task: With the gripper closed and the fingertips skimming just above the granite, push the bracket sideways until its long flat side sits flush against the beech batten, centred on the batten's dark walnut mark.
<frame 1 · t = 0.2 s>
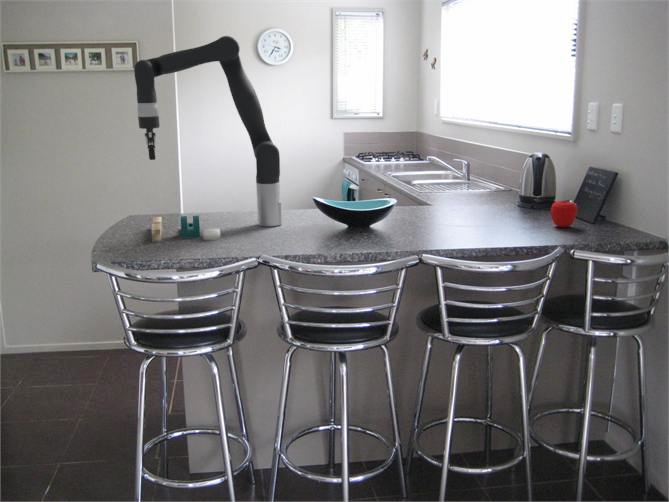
hand: (152, 158, 254), 29 cm above the countertop, fingers open, 8 cm apart
rounded smooth part: (211, 238, 249), on the countertop
bracket: (191, 233, 259), on the countertop
apple: (562, 227, 259), on the countertop
batten: (157, 234, 256), on the countertop
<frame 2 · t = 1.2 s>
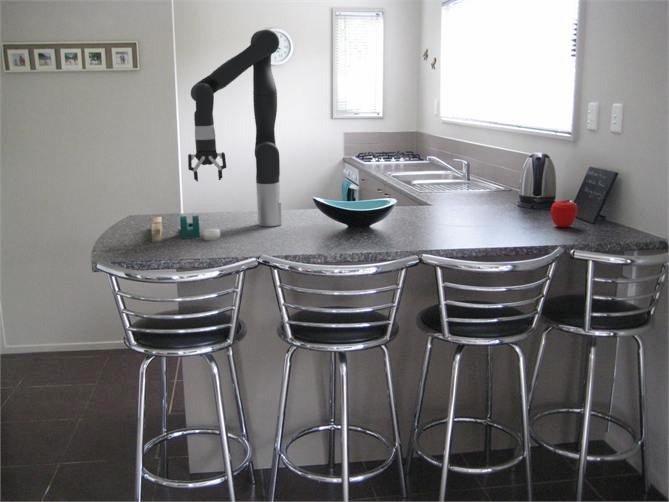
hand: (208, 180, 255), 20 cm above the countertop, fingers open, 8 cm apart
nothing on the countertop moved.
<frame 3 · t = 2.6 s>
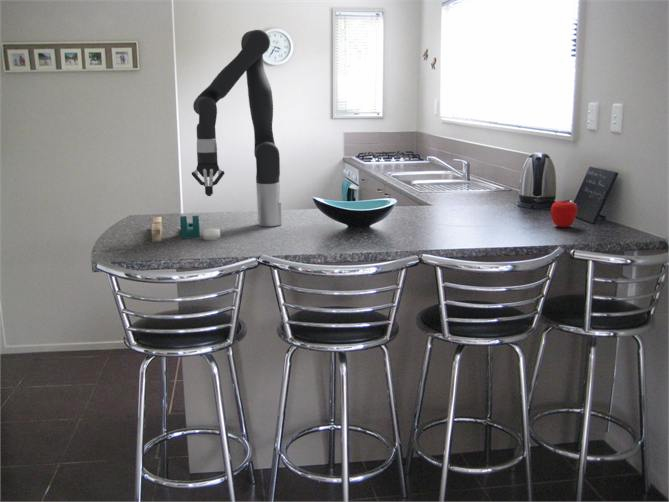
hand: (209, 195, 257), 14 cm above the countertop, fingers closed
nothing on the countertop moved.
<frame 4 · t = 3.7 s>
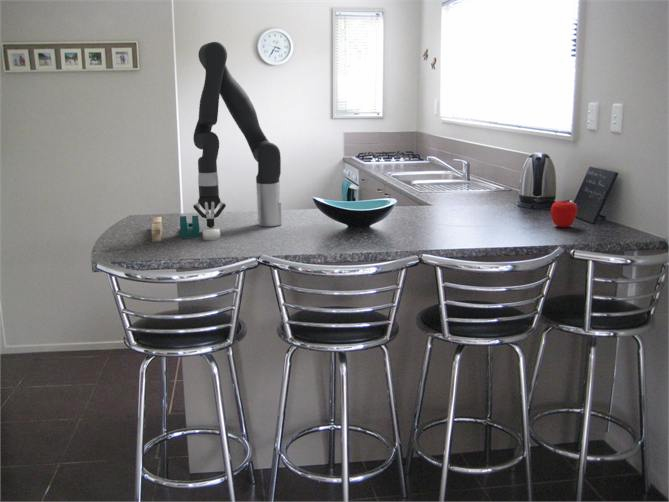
hand: (210, 227, 260), 1 cm above the countertop, fingers closed
nothing on the countertop moved.
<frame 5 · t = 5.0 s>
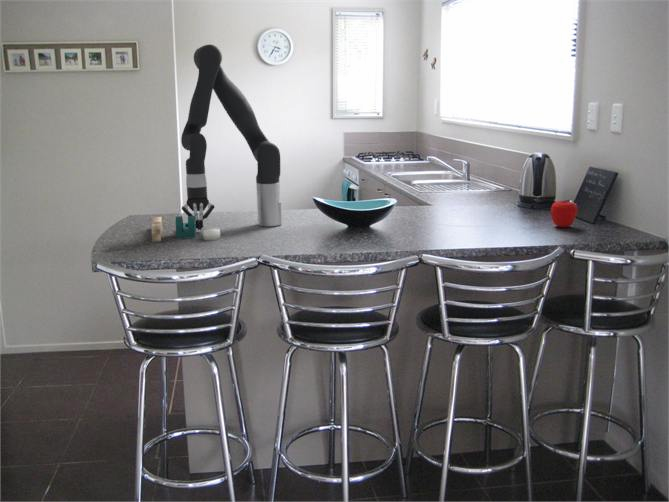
hand: (199, 229, 259), 1 cm above the countertop, fingers closed
bracket: (187, 233, 258), on the countertop, touching gripper
everything else where it was.
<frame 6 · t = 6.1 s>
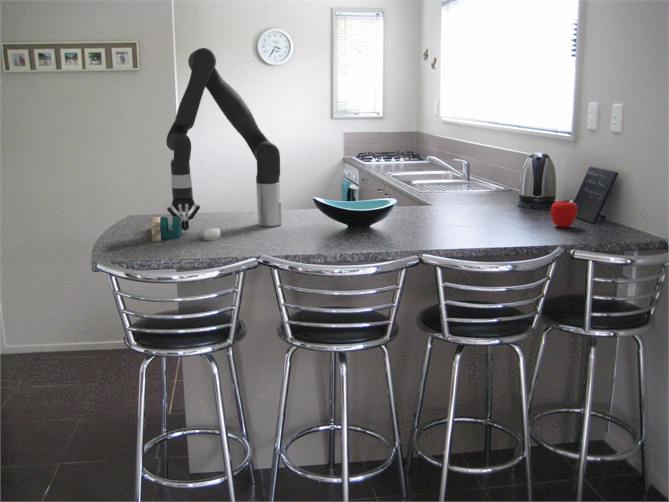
hand: (185, 230, 258), 1 cm above the countertop, fingers closed
bracket: (172, 234, 258), on the countertop, touching gripper
everything else where it was.
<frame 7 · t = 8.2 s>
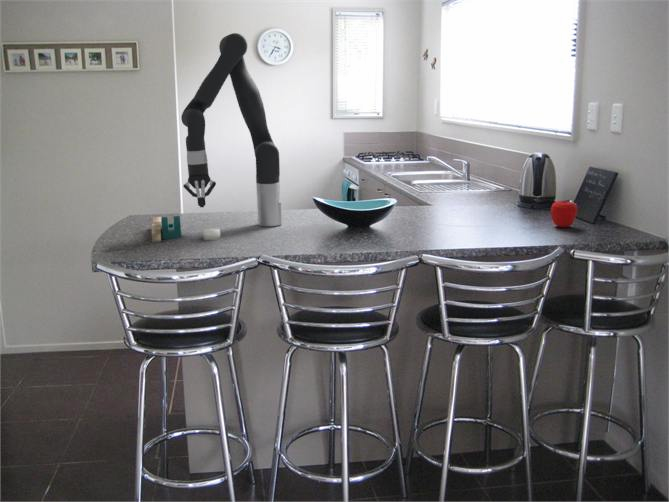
hand: (201, 206, 258), 10 cm above the countertop, fingers closed
bracket: (171, 234, 258), on the countertop
everything else where it was.
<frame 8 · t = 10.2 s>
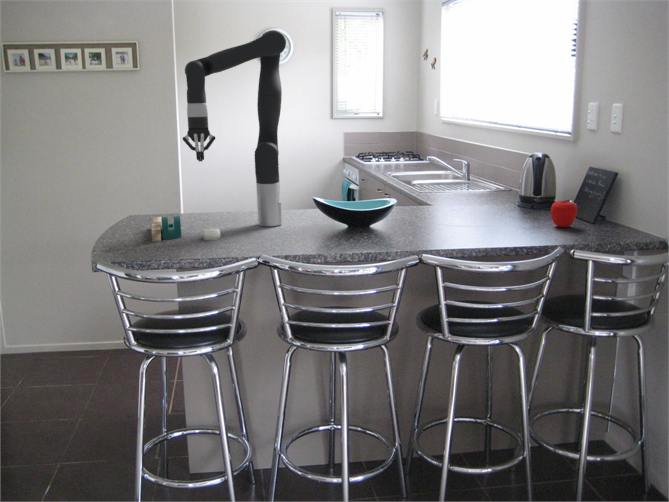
hand: (200, 161, 257), 27 cm above the countertop, fingers closed
nothing on the countertop moved.
at the end: bracket 1.0 cm from the target spot on the countertop beside the batten, on the countertop; bracket tilted 0° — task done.
